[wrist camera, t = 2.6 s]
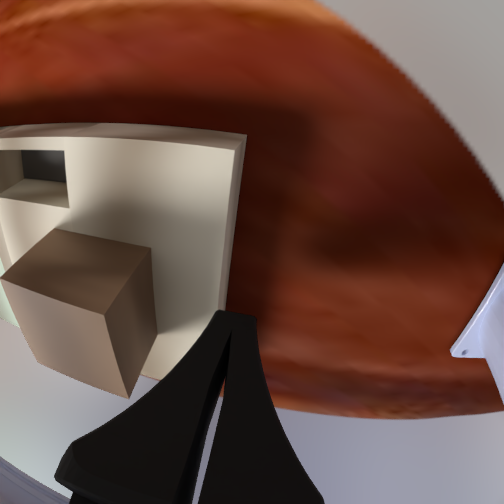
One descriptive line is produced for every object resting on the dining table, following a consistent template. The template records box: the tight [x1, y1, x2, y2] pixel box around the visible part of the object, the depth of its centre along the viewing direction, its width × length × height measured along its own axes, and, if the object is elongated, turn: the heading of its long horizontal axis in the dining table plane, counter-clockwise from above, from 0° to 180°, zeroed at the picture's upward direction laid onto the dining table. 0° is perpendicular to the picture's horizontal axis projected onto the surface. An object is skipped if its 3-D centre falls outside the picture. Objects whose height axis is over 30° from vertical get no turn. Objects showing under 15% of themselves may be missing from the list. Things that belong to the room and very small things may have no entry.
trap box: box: [0, 123, 247, 380], centre depth 12 cm, size 18×12×4 cm, turn 83°
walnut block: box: [0, 228, 158, 399], centre depth 10 cm, size 4×4×4 cm
